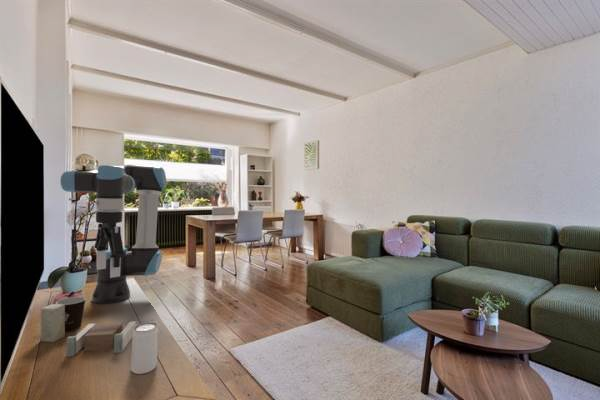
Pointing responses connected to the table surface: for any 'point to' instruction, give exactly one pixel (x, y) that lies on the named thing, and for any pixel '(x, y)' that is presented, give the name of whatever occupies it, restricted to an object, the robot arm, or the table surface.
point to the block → (102, 337)
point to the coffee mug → (73, 312)
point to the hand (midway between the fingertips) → (107, 272)
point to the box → (52, 322)
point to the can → (144, 348)
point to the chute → (78, 341)
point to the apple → (67, 296)
